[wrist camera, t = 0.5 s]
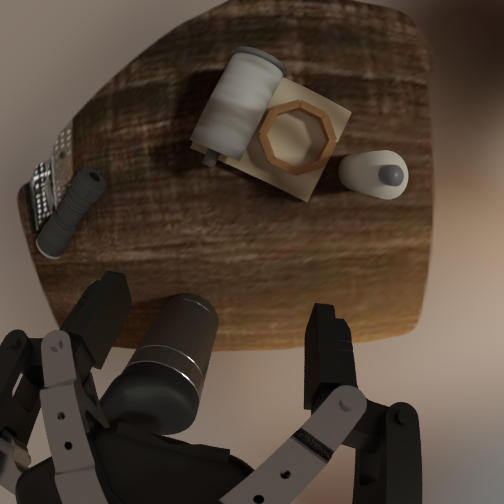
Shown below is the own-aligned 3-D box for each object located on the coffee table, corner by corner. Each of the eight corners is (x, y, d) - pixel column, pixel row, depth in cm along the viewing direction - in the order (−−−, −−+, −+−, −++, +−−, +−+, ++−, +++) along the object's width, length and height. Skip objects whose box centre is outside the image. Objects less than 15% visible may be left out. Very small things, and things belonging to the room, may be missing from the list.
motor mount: (302, 207, 40) (312, 217, 32) (189, 155, 38) (172, 152, 30) (348, 114, 36) (369, 102, 28) (237, 61, 34) (231, 38, 26)
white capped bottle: (362, 197, 39) (403, 210, 27) (331, 179, 38) (362, 185, 26) (377, 165, 37) (423, 167, 25) (347, 147, 37) (384, 139, 25)
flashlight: (93, 162, 38) (74, 163, 33) (114, 185, 39) (97, 188, 34) (49, 231, 42) (30, 239, 36) (67, 253, 43) (49, 263, 37)
